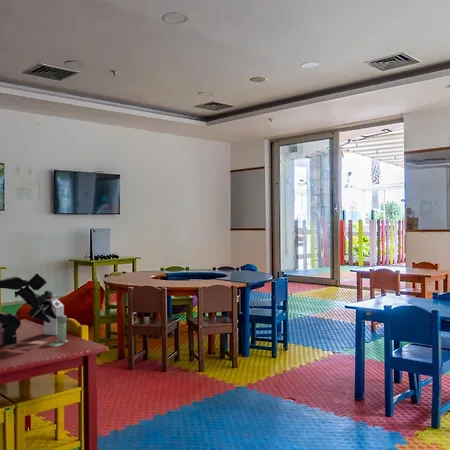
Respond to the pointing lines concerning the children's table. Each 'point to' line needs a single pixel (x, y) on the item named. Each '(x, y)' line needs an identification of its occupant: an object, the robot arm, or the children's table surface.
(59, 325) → the green joystick knob
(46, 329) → the milk carton
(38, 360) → the children's table surface
